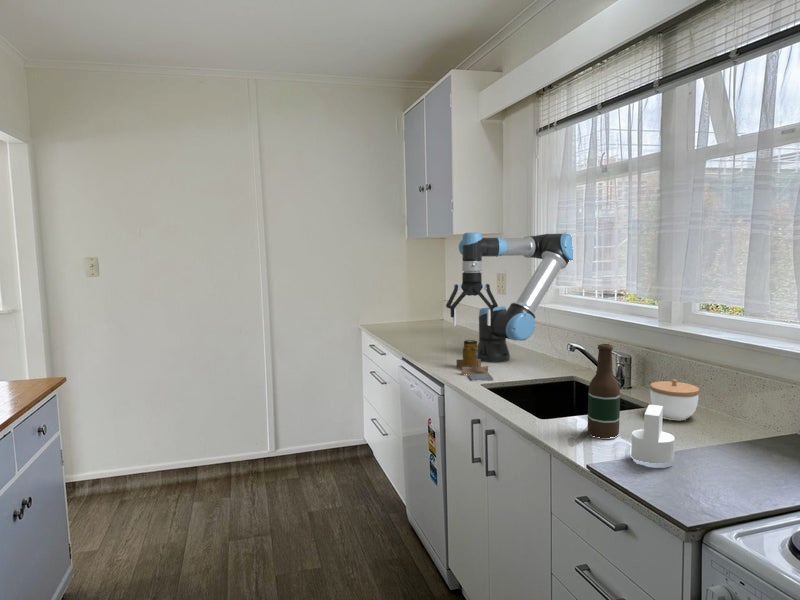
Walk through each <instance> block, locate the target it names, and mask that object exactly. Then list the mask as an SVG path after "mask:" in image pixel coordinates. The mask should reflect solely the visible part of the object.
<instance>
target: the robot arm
mask: <svg viewBox="0 0 800 600" xmlns="http://www.w3.org/2000/svg"><path fill="white" fill-rule="evenodd" d="M566 233H567V232H562V233H542V234H538V235H530V236H529V235H528V236H527V235H526V236H524V237H523V238H516V237H515V238H507V237H506V238H505V237H504V238H502V237H497V236H496V237H483V236H482V233H481V232H465V233H463V235H462V240H460V242H459V243H458V251H459V253H460V255H462V261H461V262H462V263H461V264H462V265H461V266H462V270H461V271H463V272H462V273H461V274H462V277H461V279H462V280H461V282H462V283H461V284H457V283H455V284H453V286H454V287H453V291H452V293H451V294H450V297H449V299H448V300H447V303H446V304H445V307H446V308H447V309H450V317H451V318H452V320H453V321H452V322H453V323H452V325H453V326H454V327H456V326H457V309H456V308H457V306H458V305H459V303H460V302H461V301H462V300H463V299H464V297H465V298H466V296H468V297H469V296H479V297H480V298H481V300H482V301H483V302H484V303H485V304H486V306H487V307H481V308H480V309H479V311H478V314H479V315H478V342H477V348H478V359H481V362H486V363H499V362H501V363H502V362H507V361H510V359H511V357H510V355H511V354H510V350H509V348H508V344H507V340H511V341H517V342H518V341H522V342H523V341H527V340H528V339H529V338H531V337H532V335H533V334H534V332H535V329H536V315H535V312H536V310H537V309H538V307H539V305H540V304H541V302H542V301H543V299H544V297H545V295H546V294H547V292H548V291H549V290H550V289H549V288H551V286H552V284H553V282H554V281H555V279H556V277H557V276H558V274H559V272H560V270H562V269H566V268H567V266H568V265H569V263H568V262H570V261H571V260H573V249H572V248H573V247H572V237H571V235H570V234H566ZM502 256H503V257H504V256H514V257H515V256H523V257H524V258H530V259H531V258H533V259H539V260H541V261H540V263H539V265H538V266H537V268H536V270H535V271H534V273H533V275H532V276H531V278H530V279H529V281H528V282H527V284H526V286H525V287H524V288H523V291H522V292H521V294H520V296H519V297H518V298H517V301H515V302H511V303H510V304H509V306H508V308H507V307H506V306H504V305H503V306H498V303H497V301H496V299H495V297H494V295H493V292H492V291H491V287H490V283H486V284H483V282H482V278H483V277H482V268H483V267H482V261H483V260H482V257H496V258H497V257H502ZM569 260H570V261H569ZM573 261H574V260H573ZM460 289H461V290H462V292H461V293H460V295H459V296H458V297H457V298H456V295H457V293H458V291H459V290H460ZM482 290H485V291H486V293H487V295H488V298H489V300H490V301H491V302H490V301H489V300H488V299H487V297H486V296H485V295H484V294H483V293H482V292H481V291H482ZM455 298H456V300H455ZM454 300H455V301H454ZM453 301H454V302H453Z"/></svg>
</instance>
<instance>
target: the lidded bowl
mask: <svg viewBox="0 0 800 600" xmlns="http://www.w3.org/2000/svg"><path fill="white" fill-rule="evenodd" d="M649 389H650V402H651V405H658V406H663V417H666V418H670V419H686V418H687V419H688V418H690V417H692V415H693V414H695V412H696V410H697V408H698V404H699V395H700V388H699V387H698V386H696V385H693V384H691V383H686V382H679V381H678V380H677V379H673V378H672V380H671V381H668V380H667V381H666V380H665V381H664V380H663V381H662V380H661V381H654V382H652V383H650V385H649Z"/></svg>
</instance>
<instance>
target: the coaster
mask: <svg viewBox="0 0 800 600" xmlns="http://www.w3.org/2000/svg"><path fill="white" fill-rule="evenodd" d="M467 377H468V378H469V377H470V378H469V379H470V381H471V380H490V381H494V377H493V376H492V375H491V374H490V373H489V372H488V373H485V374H468V375H467Z"/></svg>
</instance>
